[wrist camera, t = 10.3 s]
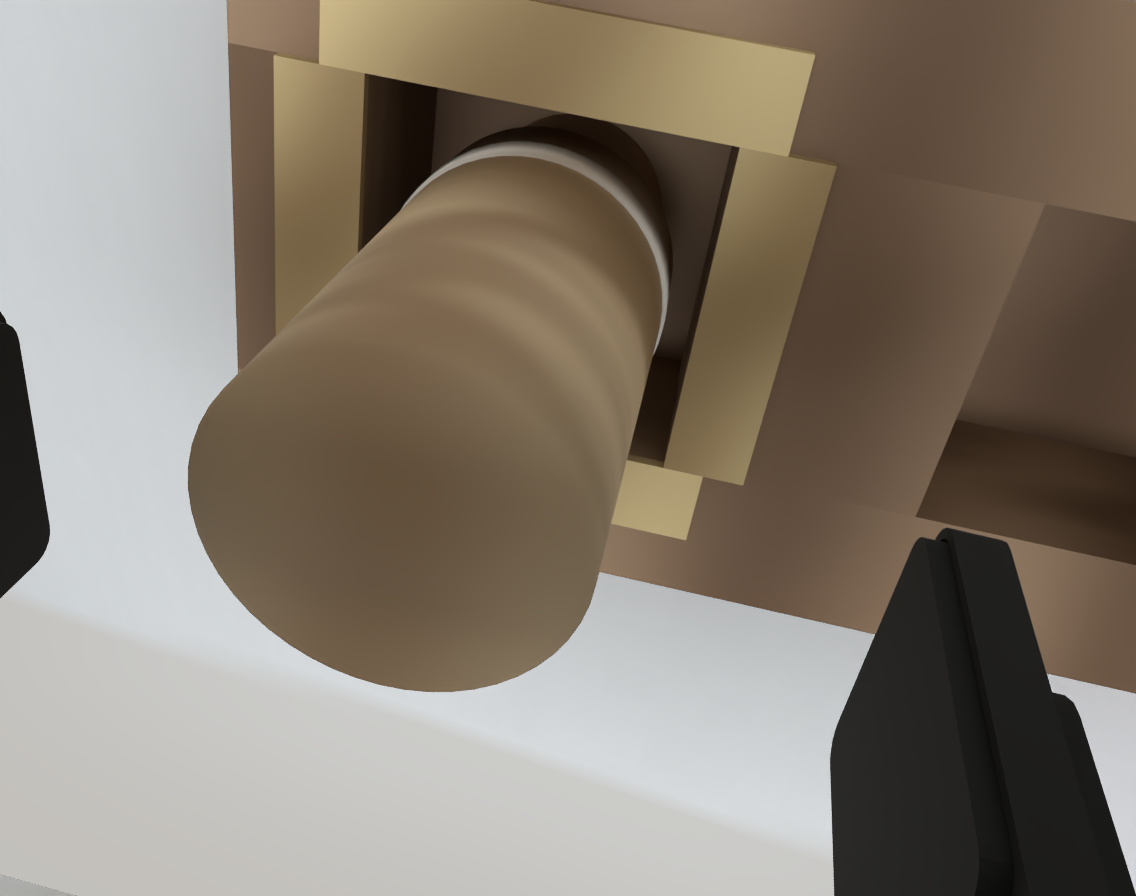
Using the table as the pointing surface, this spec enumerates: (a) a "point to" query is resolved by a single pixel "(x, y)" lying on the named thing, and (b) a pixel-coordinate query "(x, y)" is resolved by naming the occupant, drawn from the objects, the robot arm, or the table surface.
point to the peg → (448, 418)
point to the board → (783, 266)
